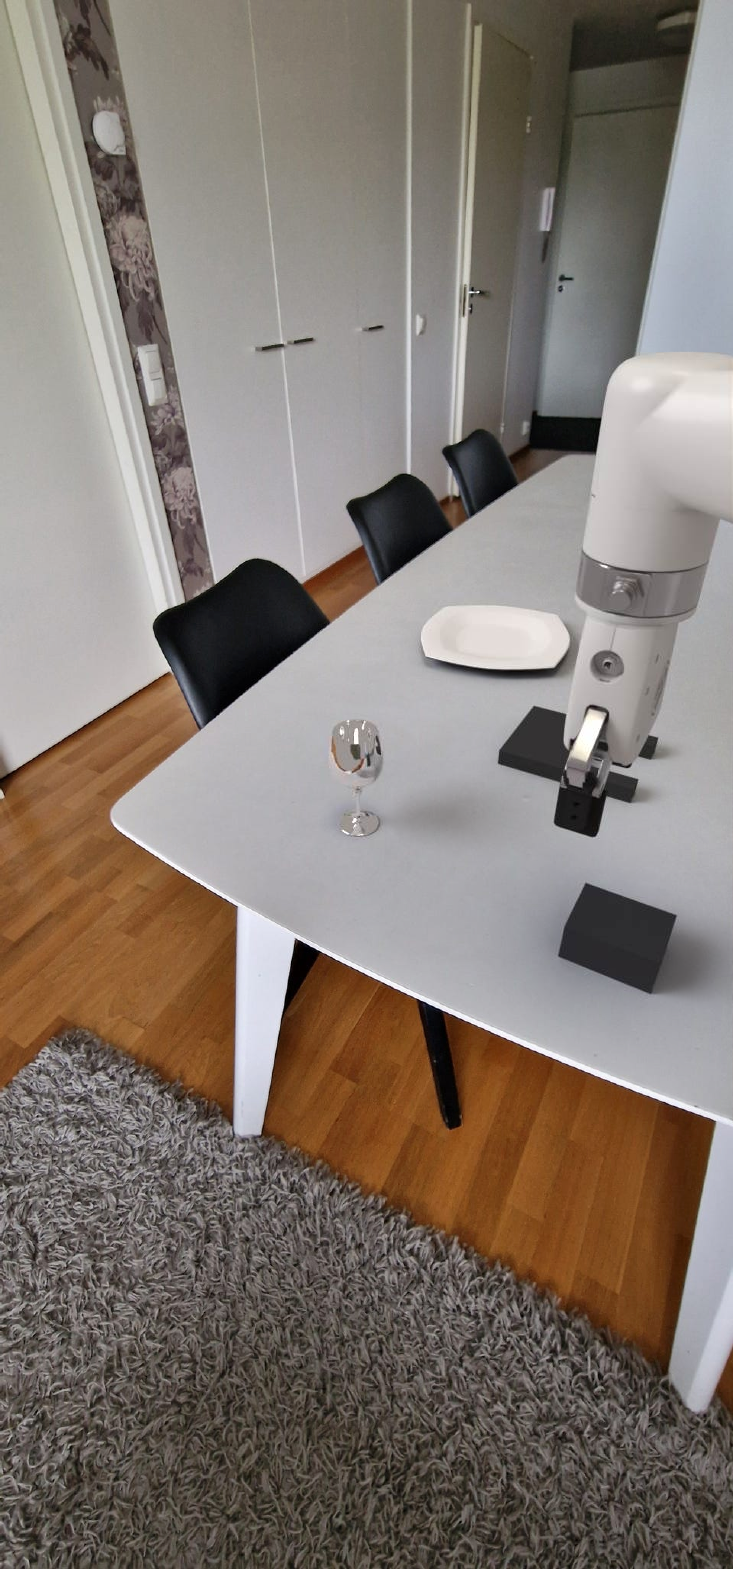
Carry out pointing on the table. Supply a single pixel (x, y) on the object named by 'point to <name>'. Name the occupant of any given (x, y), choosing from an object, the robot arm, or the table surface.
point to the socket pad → (558, 752)
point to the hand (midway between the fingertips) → (594, 794)
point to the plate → (495, 637)
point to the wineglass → (356, 769)
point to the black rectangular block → (617, 937)
